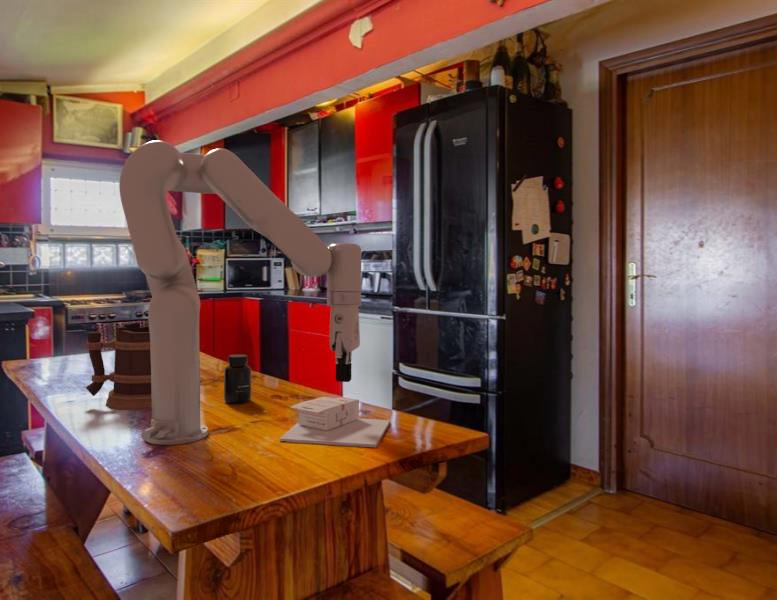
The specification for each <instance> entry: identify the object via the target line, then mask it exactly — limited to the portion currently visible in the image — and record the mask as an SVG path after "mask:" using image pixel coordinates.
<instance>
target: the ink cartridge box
mask: <svg viewBox="0 0 777 600" xmlns="http://www.w3.org/2000/svg"><path fill="white" fill-rule="evenodd" d="M289 408H290V409H295V410H298V412H297V413H298V415H297V417H298V419H297V423H298V424H299V425H303V426H308V427H312V428H317V429H321V430H326V431H328V430H330V429H333V428H335V427H338V426H341V425H344V424H347V423H349V422H352V421H355V420H358V419H360V399H358V398H352V397H345V396H339V395H331V394H330V395H329V394H328V395H325V396H321V397H318V398H313V399H309V400H306V401H305V400H304V401H301V402H298V403H297V404H294V405H290V407H289Z"/></svg>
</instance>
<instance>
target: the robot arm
mask: <svg viewBox="0 0 777 600" xmlns="http://www.w3.org/2000/svg"><path fill="white" fill-rule="evenodd" d="M119 176H120V177H119V188H118V189H119V196H120V202H121V206H122V210H123V213H124V217H125V220H126V221H125V222H126V225H127V230H128V234H129V237H130V240H131V243H132V247H133V251H134V254H135V255H134V256H135V260H136V264H137V266H138V269H140V270H141V272H142V273H143V274H144V275H145V278H146V283H147V285H148V289H149V291H150V292H149V293H150V294H151V299H150V302H149V305H148V311H147V312H148V313H147V314H148V316H147V317H148V326H149V332H150V356H151V399H152V409H151V420H150V427H149V428H147V429H145V430H143V431H142V432H141V438H142V439H143V440H144V441H145V442H147V443H150V444H152V445H160V446H173V445H175V446H176V445H183V444H190V443H193V442H196V441H200V440H202V439H204V438H205V437H208V435H209V428H208V426H207V425H205V424H202V423H201V366H200V365H201V361H200V360H201V359H200V355H201V354H200V351H201V350H200V310H201V299H200V298H201V297H200V295H199V292H198V288H197V285H196V281H195V277H194V274H193V270H192V266H191V262H190V260H189V257H188V254H187V251H186V248H185V246H184V244H183V243H182V242H181V240H180V239H179V238H178V235H177V232H176V229H175V226H174V225H175V224H174V223H173V222H174V221H173V219H172V214H171V211H170V207H169V203H168V199H167V195H166V193H167V191H168V192H170V191H171V192H182V193H192V194H193V193H196V194H213V195H214V194H216V195H217V196H218V197H219V198H220V199H221V200H222V201H223V202H224V203H226V205H228V207H229V208H230V209H232V210H233V211H234V212H235V214H236V215H237V216H239V218H240V219H241V220H242V221H244V223H245V224H246V225H247V226H248V227H250V228H251V229H252V230H253V231H255V232H257V233H258V234H261V235H262V236H263V237H264V238H266V239H267V240H269V241H270V242H271V243H272V244H274V246H275V247H277V249H278V250H280V251H281V252H282V253H283V254H284V255H285V256H286V257H287V258H288V259H289V260H290V263H291V265H292V268H293V269H294V271H296V272H297V274H300V275H302V276H306V277H311V278H316V277H317V278H318V277H321V276H323V275H326V276H327V278H326V284H327V285H326V294H327V295H326V302H327V303H326V306H327V307H330V314H329V315H330V316H329V317H330V319H329V349H330V350H331V351H332V352H334V353H335V355H334V357H335V381H336V382H338V383H339V382H341V383H349V382H350V381H352V356H353V355H352V354H353V352H354V351H355V350H356V349H358V348H359V347H360V345H361V341H360V340H361V338H360V337H361V336H360V313H359V307H361V306H362V248H361V246H360V245H359V244H357V243H349V242H347V243H345V242H344V243H343V242H341V243H340V242H337V243H331V244H326V243H325V242H324V241H323V240H322V239H321V238H320V237H319V235H317V234H316V233H315V232H314V231H313V230H312V229H311V228H310V227H309V226H308V225H307V224H306V223H305V222H304V221H303V220H302V219H301V218H300V217H299V216H298V215H297V214H295V213H294V211H293V210H291V209H290V208H289V207H288V206H287V205H286V203H284V202H283V201H282V200H281V199H280V198H279V197H278V196H276V194H275V193H274V192H273V191H272V190H271V189H270V188H269V187H268V186H267V185H266V184H265V183H264V182H263V181H262V180H261V179H260V178H259V177H258V176H257V175H256V174H255V173H254V172H253V171H252V170H251V169H250V168H249V167H248V165H246V164H245V162H243V160H241V159H240V157H238V155H236V154H235V153H234V152H232V151H230V150H229V149H226V148H221V147H219V148H214V149H212V150H210V151H208V152H207V153H206V154H202V153H201V154H199V153H188V152H181V151H179V150H178V149H177V148H176V147H175V146H174V145H173V144H171V143H169V142H167V141H163V140H160V139H159V140H158V139H157V140H150V141H148V142H145V143H143V144H141V145H140V146H138V147H137V148H136V149H135V150H133V152H132V153H131V154H130V155H129V156H128V157H127V159H126V160H125V162H124V164H123V166H122V169H121V172H120V175H119Z"/></svg>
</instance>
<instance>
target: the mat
mask: <svg viewBox="0 0 777 600" xmlns="http://www.w3.org/2000/svg"><path fill="white" fill-rule="evenodd" d="M390 424H391V420H390V419H375V418H374V419H373V418H359V419H358V420H355V421H352V422H349V423H347V424H344V425H341V426H338V427H335V428H333V429H330V430H328V431H326V430H321V429H317V428H312V427H308V426H303V425H299V424H298V422H296V423H295V424H294V425H293V426H292V427H291V428H290V429H288V430H287V431H286V432H285V433H284V434H283V435H282V436H281V437H279V440H278V441H279V442H281V441H286V442H285V443H295V444H296V443H299V444H312V443H313V444H314V445H315V444H316V445H327V446H328V445H330V446H331V445H333V446H346V447H347V446H348V447H359V448H361V447H362V448H377V446H378V444H379V442H380V441H381V439H382V437H383V436H384V435H385V432H386V430H387V429H388V428H389V425H390ZM313 444H312V445H313Z"/></svg>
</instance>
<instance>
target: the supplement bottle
mask: <svg viewBox="0 0 777 600" xmlns="http://www.w3.org/2000/svg"><path fill="white" fill-rule="evenodd" d="M227 359H228V360H227V363H228V365H227V366H225V368H224V373H223V374H224V375H223V381H224V383H223V397H224V398H223V399H224V400H223V402H225V404H230V405H231V404H232V405H238V404H239V405H240V404H246V403H249V402H250V401H252V400H251V399H252V368H251V367H250V366H249V365H248V360H249V359H248V354H230V355H228V358H227Z"/></svg>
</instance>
